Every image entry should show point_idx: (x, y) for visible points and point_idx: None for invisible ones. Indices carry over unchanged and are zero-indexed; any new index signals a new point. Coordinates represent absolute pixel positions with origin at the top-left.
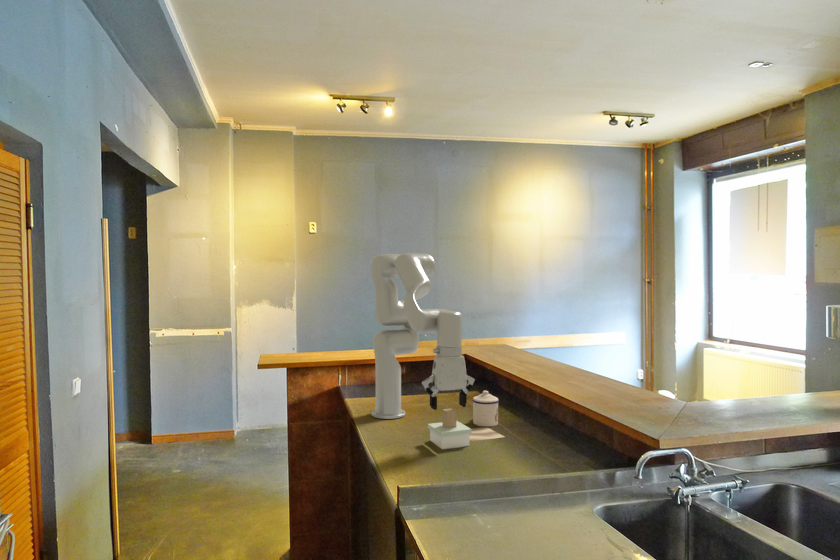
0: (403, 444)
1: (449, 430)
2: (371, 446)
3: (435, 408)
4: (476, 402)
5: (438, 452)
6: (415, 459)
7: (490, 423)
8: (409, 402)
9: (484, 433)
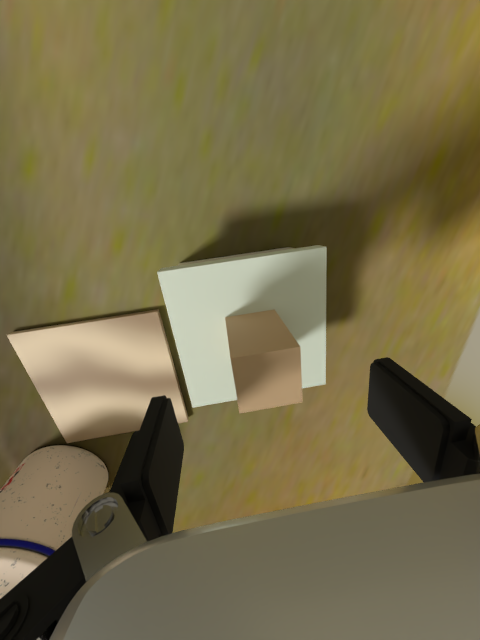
0: (376, 342)
1: (273, 275)
2: (464, 342)
3: (386, 361)
4: None
5: (304, 241)
6: (408, 186)
7: (45, 456)
8: None
9: (87, 384)
